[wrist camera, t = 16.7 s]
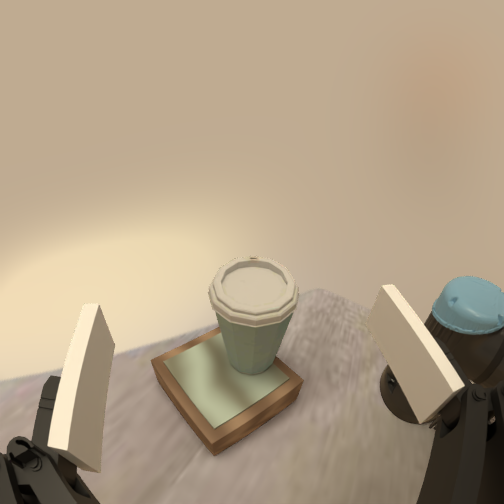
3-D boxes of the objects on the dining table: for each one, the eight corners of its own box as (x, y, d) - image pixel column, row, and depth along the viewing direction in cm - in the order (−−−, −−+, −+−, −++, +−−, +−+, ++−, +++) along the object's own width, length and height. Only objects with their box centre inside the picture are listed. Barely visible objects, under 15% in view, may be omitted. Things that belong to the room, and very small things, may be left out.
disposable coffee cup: (288, 387, 36) (310, 312, 28) (209, 387, 36) (202, 310, 28) (280, 332, 45) (295, 254, 37) (213, 330, 45) (211, 251, 36)
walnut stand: (234, 340, 51) (235, 316, 48) (296, 399, 41) (304, 378, 38) (157, 380, 42) (150, 358, 38) (214, 456, 32) (211, 442, 28)
